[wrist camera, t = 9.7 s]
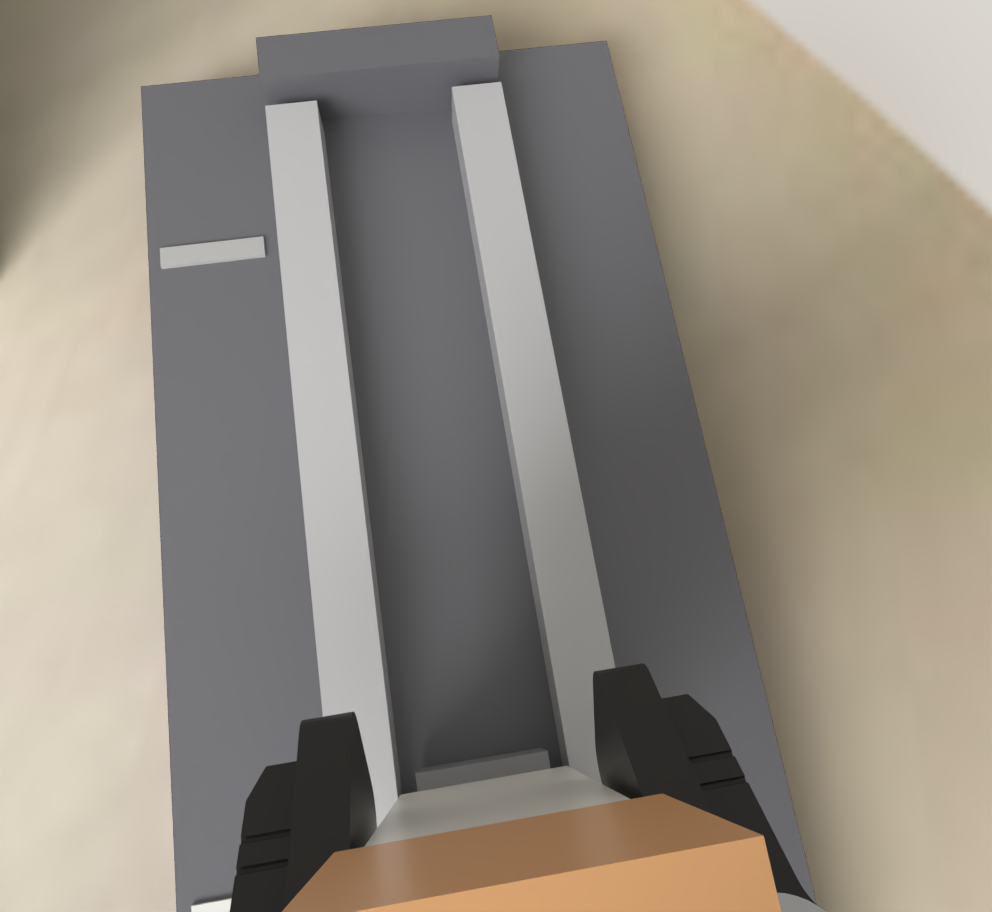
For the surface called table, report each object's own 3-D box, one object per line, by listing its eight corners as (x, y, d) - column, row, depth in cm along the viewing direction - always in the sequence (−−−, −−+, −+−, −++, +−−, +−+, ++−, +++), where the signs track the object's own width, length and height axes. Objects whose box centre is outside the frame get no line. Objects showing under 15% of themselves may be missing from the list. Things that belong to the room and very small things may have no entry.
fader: (594, 911, 15) (881, 1339, 5) (413, 945, 15) (307, 1480, 5) (565, 743, 16) (756, 804, 6) (393, 772, 16) (265, 894, 5)
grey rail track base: (819, 1059, 17) (911, 1148, 13) (224, 1185, 16) (157, 1317, 12) (595, 94, 24) (617, -10, 20) (167, 139, 23) (115, 36, 19)
